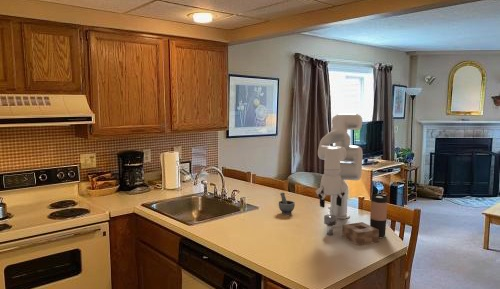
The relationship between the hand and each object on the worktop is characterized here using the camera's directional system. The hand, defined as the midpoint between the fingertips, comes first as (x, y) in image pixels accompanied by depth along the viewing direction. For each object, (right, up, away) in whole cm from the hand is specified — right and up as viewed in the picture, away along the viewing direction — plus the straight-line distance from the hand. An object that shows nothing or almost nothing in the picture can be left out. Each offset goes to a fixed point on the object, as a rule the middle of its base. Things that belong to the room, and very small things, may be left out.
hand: (330, 206), depth 180 cm
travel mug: (+24, -15, +1) cm, 28 cm away
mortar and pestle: (-19, -11, +36) cm, 42 cm away
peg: (0, -15, +2) cm, 15 cm away
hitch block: (+13, -15, -4) cm, 21 cm away
